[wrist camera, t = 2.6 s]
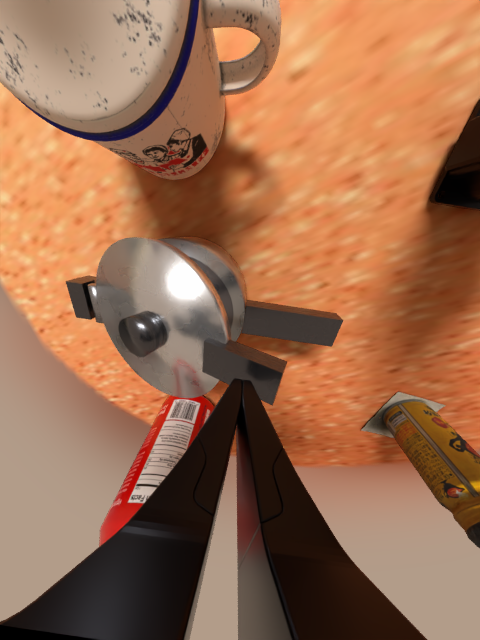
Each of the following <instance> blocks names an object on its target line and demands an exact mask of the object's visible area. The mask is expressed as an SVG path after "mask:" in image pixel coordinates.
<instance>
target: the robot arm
mask: <svg viewBox="0 0 480 640" xmlns="http://www.w3.org/2000/svg"><path fill="white" fill-rule="evenodd" d="M439 193H441V196H440V198H438V195H439ZM430 201H431V202H432V203H435V204H441V205H447V206H454V207H460V208H466V209H472V210H479V211H480V100H479V102H478V104H477V106H476V108H475V110H474V112H473V114H472V116H471V117H470V119H469V121H468V123H467V125H466V127H465V129H464V131H463V133H462V135H461V137H460V138H459V140H458V142H457V144H456V146H455V148H454V150H453V152H452V154H451V156H450V158H449V160H448V162H447V164H446V166H445V169H444V171H443V173H442V175H441V177H440V178H439V180H438V182H437V184H436V186H435V188H434V190H433V192H432V194H431V197H430ZM236 426H237V427H236ZM235 430H236V444H237V538H238V539H237V542H238V543H237V549H238V640H427V639H426V638H425V637H424V636H423V635H422V634H421V633H420V632H419V631H418V630H417V629H416V628H415V627H414V625H413V624H411V622H410V621H409V620H408V619H407V618H406V617H405V616H404V615H403V614H402V613H401V612H400V611H399V610H398V609H397V608H396V607H395V606H394V605H393V604H392V603H391V602H390V601H389V599H388V598H387V597H386V596H385V595H384V594H383V593H382V592H381V591H380V590H379V589H378V588H377V587H376V586H375V585H374V584H373V583H372V582H371V581H370V580H369V578H368V577H367V576H366V575H365V574H364V573H363V572H362V571H361V570H360V569H359V568H358V567H357V566H356V565H355V564H354V562H353V561H352V560H351V559H350V557H349V556H348V555H347V554H346V552H345V551H344V550H343V548H342V547H341V545H340V544H339V542H338V541H337V539H336V538H335V536H334V535H333V533H332V531H331V530H330V528H329V526H328V525H327V523H326V522H325V520H324V518H323V516H322V515H321V513H320V511H319V510H318V508H317V507H316V505H315V503H314V502H313V500H312V498H311V497H310V495H309V493H308V492H307V490H306V488H305V487H304V485H303V483H302V482H301V480H300V478H299V476H298V475H297V473H296V471H295V469H294V467H293V465H292V463H291V461H290V459H289V457H288V455H287V453H286V451H285V449H284V448H283V445H282V443H281V441H280V439H279V437H278V435H277V433H276V431H275V429H274V427H273V425H272V423H271V421H270V419H269V417H268V414H267V412H266V410H265V408H264V406H263V404H262V402H261V400H260V398H259V396H258V394H257V392H256V390H255V388H254V386H253V384H252V382H251V381H250V380H242V379H237V378H234V379H233V381H232V382H231V384H230V385H229V387H228V388H227V390H226V391H225V393H224V394H223V396H222V397H221V399H220V400H219V402H218V403H217V405H216V406H215V408H214V410H213V411H212V413H211V414H210V416H209V417H208V419H207V420H206V422H205V423H204V425H203V426H202V428H201V429H200V431H199V432H198V434H197V436H196V437H195V438H194V440H193V441H192V443H191V444H190V446H189V447H188V449H187V450H186V452H185V453H184V454H183V456H182V457H181V458H180V460H179V461H178V462H177V464H176V465H175V466H174V467H173V469H172V470H171V471H170V472H169V474H168V475H167V476H166V477H165V478H164V480H163V481H162V482H161V483H160V484H159V486H158V487H157V488H156V489H155V491H154V492H153V493H152V494H151V495H150V497H149V498H148V499H147V500H146V501H145V503H144V504H143V505H142V506H141V507H140V509H139V510H138V511H137V512H136V513H135V514H134V515H133V516H132V518H131V519H130V520H129V521H128V522H127V523H126V524H125V525H124V526H123V527H122V528H121V529H120V530H119V531H118V532H116V533H115V534H114V535H113V536H112V537H111V538H109V539H108V540H107V541H106V542H105V543H103V544H102V545H101V546H100V547H99V548H97V549H96V550H95V551H94V552H93V553H92V554H90V555H89V556H88V557H87V558H85V559H84V560H83V561H82V562H81V563H79V564H78V565H77V566H76V567H75V568H73V569H72V570H71V571H70V572H69V573H67V574H66V575H65V576H64V577H63V578H61V579H60V580H59V581H58V582H57V583H55V584H54V585H53V586H52V587H50V588H49V589H48V590H47V591H46V592H44V593H43V594H42V595H41V596H40V597H39V598H37V599H36V600H35V601H33V602H32V603H31V604H29V605H28V606H27V607H25V608H24V609H23V610H21V611H20V612H18V613H16V614H15V615H13V616H11V617H9V618H8V619H6V620H3V621H1V622H0V640H189V639H190V634H191V630H192V625H193V621H194V616H195V612H196V607H197V603H198V598H199V593H200V589H201V585H202V580H203V575H204V571H205V566H206V562H207V557H208V553H209V548H210V544H211V539H212V535H213V530H214V526H215V521H216V516H217V512H218V508H219V503H220V499H221V493H222V490H223V485H224V480H225V476H226V471H227V467H228V462H229V458H230V453H231V449H232V444H233V440H234V435H235Z"/></svg>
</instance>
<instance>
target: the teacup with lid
mask: <svg viewBox="0 0 480 640" xmlns="http://www.w3.org/2000/svg"><path fill="white" fill-rule="evenodd" d="M219 27H238V28H244V29H247V30H249V31H251V32H253V33H254V34H256V35H257V36H258V37H259V38H260V39H261V40H260V42H259V44H258V45H257V46H256V48H255V49H254V50H253V51H252V52H251V53H250V54H248V55H247V56H245V57H243V58H241V59H237V60H232V61H224V62H220V61H219V59H218V54H217V49H216V44H215V38H214V33H213V28H219ZM280 34H281V10H280V4H279V0H0V82H1V83H2V84H3V85H4V86H5V87H6V88H7V89H8V90H9V91H10V92H11V93H12V94H13V95H14V96H15V97H16V98H18V99H19V100H20V101H21V102H22V103H23V104H24V105H25V106H26V107H28V108H29V109H30V110H31V111H33V112H34V113H35V114H37V115H38V116H39V117H41V118H42V119H44V120H45V121H47V122H48V123H50V124H51V125H53V126H55V127H57V128H59V129H60V130H62V131H64V132H67V133H69V134H71V135H74V136H77V137H80V138H83V139H87V140H92V141H94V142H96V143H98V144H100V145H101V146H103V147H105V148H107V149H108V150H110V151H112V152H114V153H116V154H117V155H119V156H121V157H123V158H124V159H126V160H128V161H130V162H132V163H133V164H135V165H137V166H139V167H140V168H142V169H144V170H146V171H148V172H149V173H151V174H153V175H155V176H158V177H161V178H164V179H171V180H178V179H184V178H187V177H190V176H192V175H194V174H196V173H197V172H199V171H200V170H201V169H202V168H203V167H204V166H205V165H206V164H207V163H208V162H209V161H210V159H211V158H212V156H213V155H214V153H215V151H216V149H217V146H218V144H219V141H220V138H221V135H222V131H223V126H224V118H225V95H234V94H240V93H244V92H247V91H249V90H251V89H253V88H255V87H256V86H257V85H259V84H260V83H261V82H262V81H263V80H264V79H265V78H266V77H267V75H268V74H269V72H270V71H271V69H272V67H273V65H274V63H275V61H276V58H277V54H278V51H279V45H280Z"/></svg>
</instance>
